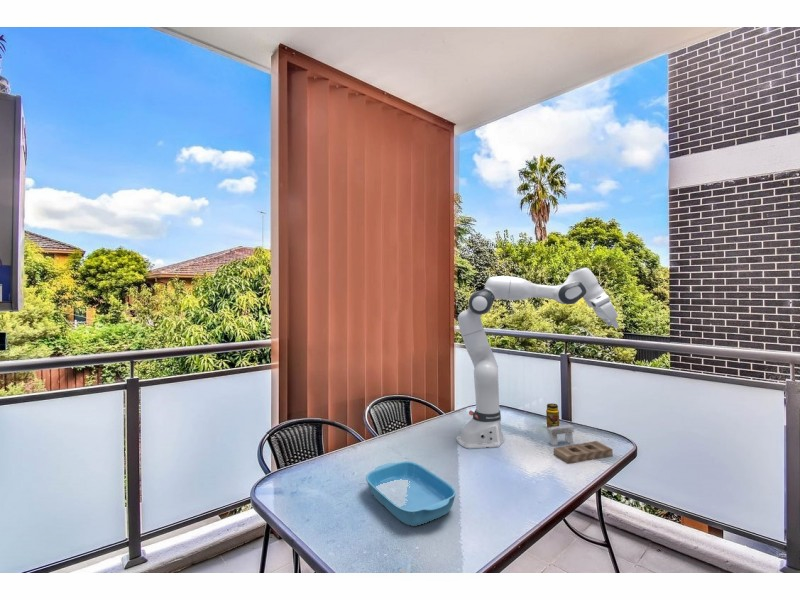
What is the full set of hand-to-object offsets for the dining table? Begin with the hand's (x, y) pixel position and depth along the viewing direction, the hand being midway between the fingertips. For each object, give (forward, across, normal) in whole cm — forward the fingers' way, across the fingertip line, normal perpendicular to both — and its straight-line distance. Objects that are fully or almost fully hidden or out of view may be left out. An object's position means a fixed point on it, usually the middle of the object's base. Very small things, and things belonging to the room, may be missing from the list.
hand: (613, 326), depth 168 cm
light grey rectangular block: (+36, -1, -46) cm, 58 cm away
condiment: (+36, -22, -47) cm, 63 cm away
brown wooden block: (+40, +11, -40) cm, 57 cm away
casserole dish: (+9, +59, -98) cm, 114 cm away
